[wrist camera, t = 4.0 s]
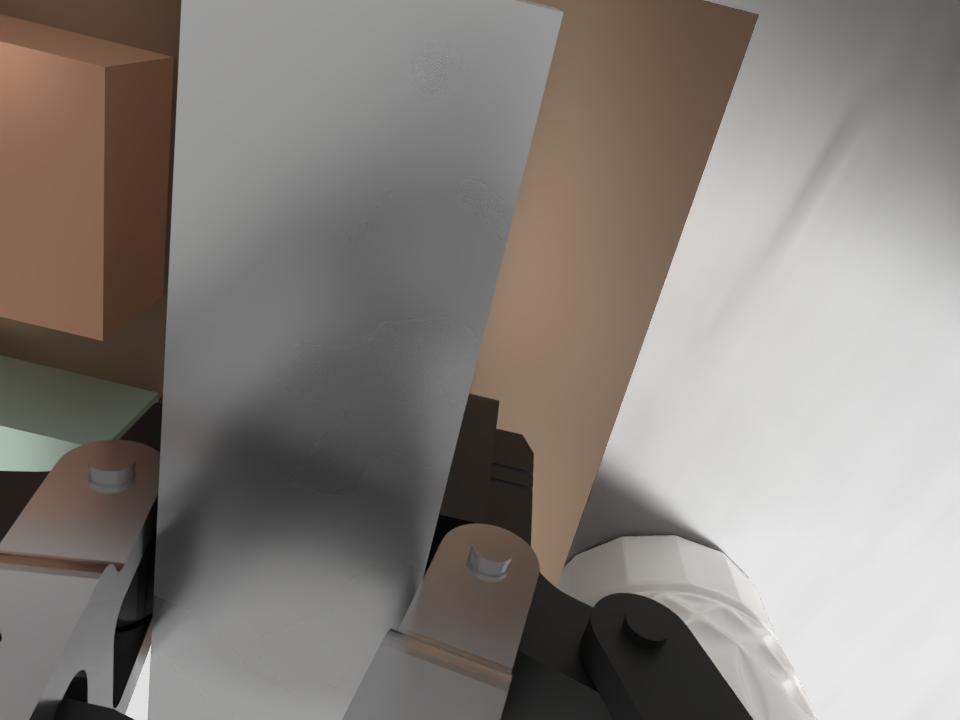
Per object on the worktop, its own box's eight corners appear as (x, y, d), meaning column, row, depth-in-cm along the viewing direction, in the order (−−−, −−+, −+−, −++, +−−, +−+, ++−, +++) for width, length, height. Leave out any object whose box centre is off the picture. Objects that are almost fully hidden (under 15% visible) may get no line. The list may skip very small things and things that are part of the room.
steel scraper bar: (556, 8, 10) (563, 11, 6) (386, 704, 16) (326, 968, 12) (343, -46, 10) (185, -82, 6) (250, 673, 16) (137, 927, 12)
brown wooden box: (688, 10, 16) (758, 14, 11) (518, 552, 23) (507, 725, 17) (110, -137, 16) (-117, -207, 10) (104, 454, 22) (-39, 599, 17)
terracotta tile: (174, 57, 12) (104, 66, 10) (163, 295, 13) (102, 340, 12) (-84, -7, 12) (-201, -9, 10) (-62, 241, 13) (-158, 278, 12)
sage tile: (158, 392, 14) (102, 449, 12) (151, 556, 16) (100, 626, 14) (-53, 342, 14) (-141, 392, 12) (-37, 512, 16) (-113, 577, 14)
